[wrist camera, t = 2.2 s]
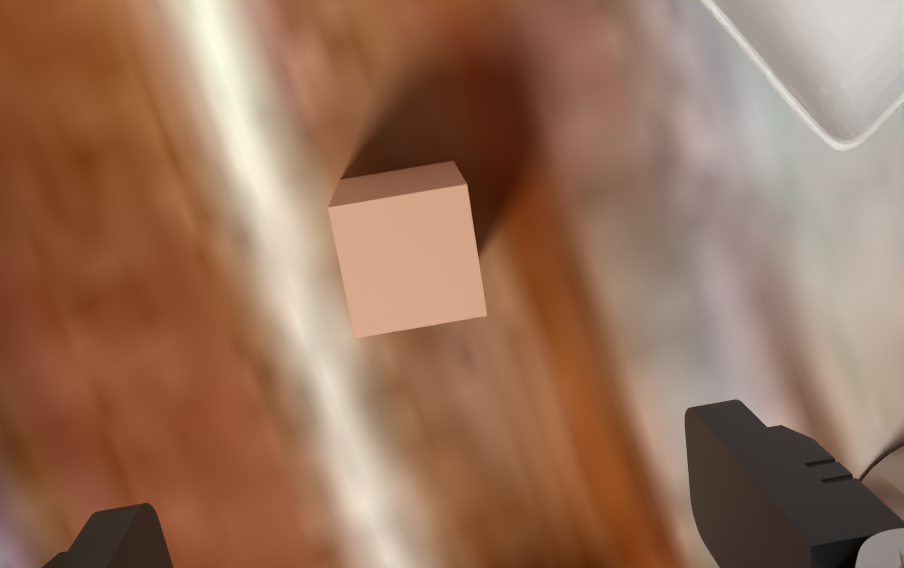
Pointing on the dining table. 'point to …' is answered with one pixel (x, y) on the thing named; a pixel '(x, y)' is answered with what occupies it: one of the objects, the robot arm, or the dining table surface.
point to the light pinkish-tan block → (407, 249)
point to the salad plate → (825, 59)
